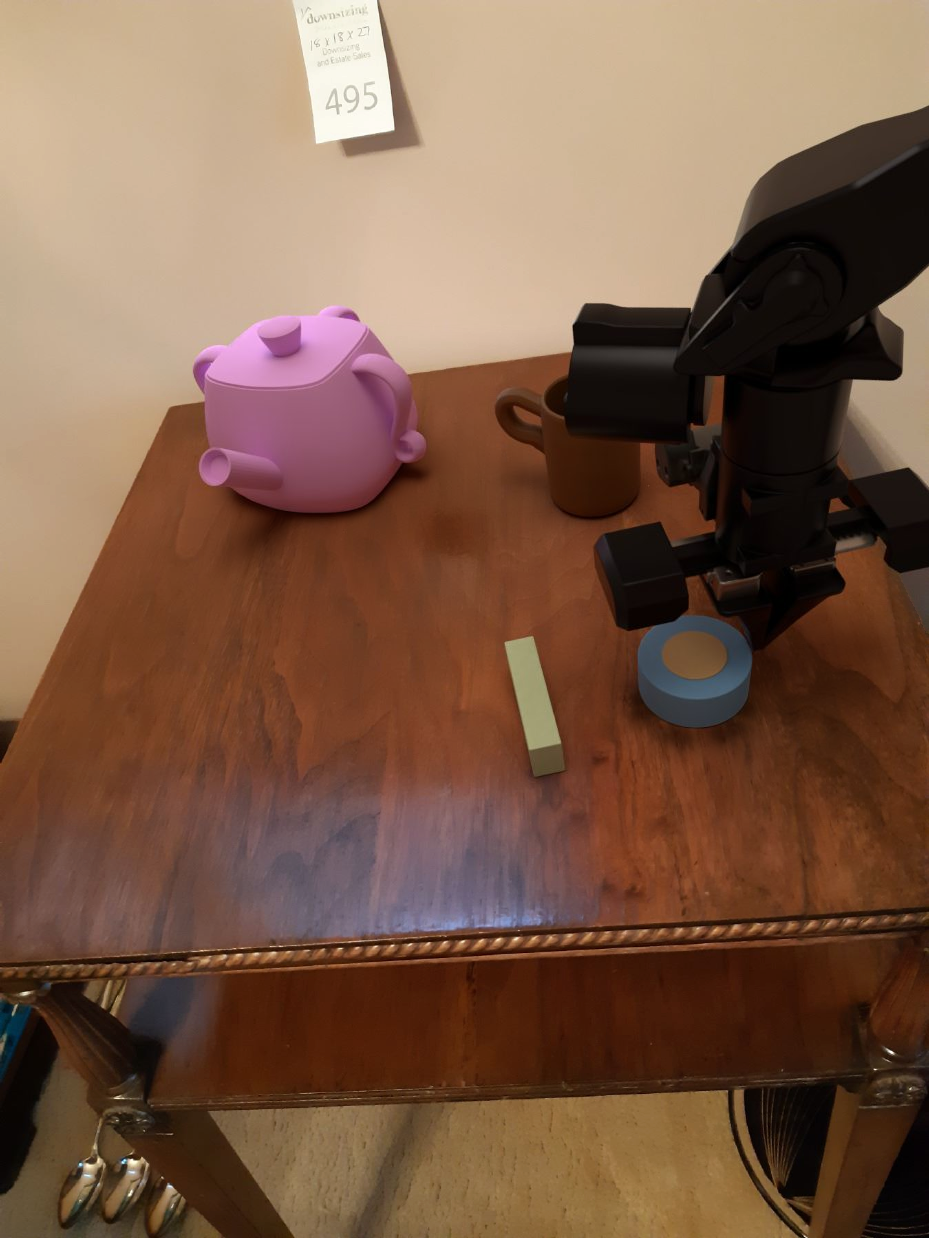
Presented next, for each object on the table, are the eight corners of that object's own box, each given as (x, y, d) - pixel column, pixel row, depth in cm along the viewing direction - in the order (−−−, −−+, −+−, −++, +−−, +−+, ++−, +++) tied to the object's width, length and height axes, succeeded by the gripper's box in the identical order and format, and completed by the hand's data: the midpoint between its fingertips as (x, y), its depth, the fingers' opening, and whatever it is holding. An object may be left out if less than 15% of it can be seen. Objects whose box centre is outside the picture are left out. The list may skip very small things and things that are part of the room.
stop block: (537, 664, 59) (533, 635, 56) (565, 770, 52) (561, 743, 50) (509, 670, 59) (504, 641, 56) (534, 777, 52) (528, 750, 50)
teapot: (398, 387, 87) (363, 251, 77) (455, 499, 73) (421, 349, 63) (221, 444, 86) (161, 312, 75) (243, 569, 71) (172, 427, 61)
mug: (488, 503, 72) (470, 409, 65) (523, 451, 76) (510, 358, 69) (623, 527, 67) (619, 428, 60) (653, 470, 71) (652, 371, 64)
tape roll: (726, 635, 57) (729, 604, 55) (765, 715, 53) (770, 684, 50) (626, 656, 58) (625, 626, 55) (655, 738, 53) (655, 708, 51)
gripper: (886, 326, 47) (844, 533, 59) (563, 398, 48) (582, 590, 59) (1000, 434, 40) (926, 649, 51) (612, 518, 40) (623, 713, 51)
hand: (755, 645), depth 53 cm, fingers closed
